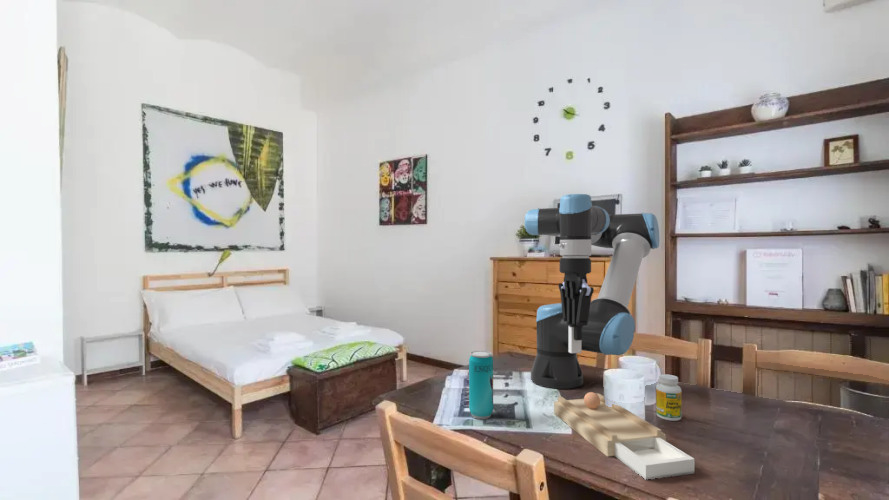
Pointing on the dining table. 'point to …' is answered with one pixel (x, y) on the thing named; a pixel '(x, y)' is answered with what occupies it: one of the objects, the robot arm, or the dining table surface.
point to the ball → (592, 400)
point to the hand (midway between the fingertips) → (574, 352)
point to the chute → (605, 424)
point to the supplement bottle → (668, 398)
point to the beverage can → (481, 384)
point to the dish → (654, 459)
